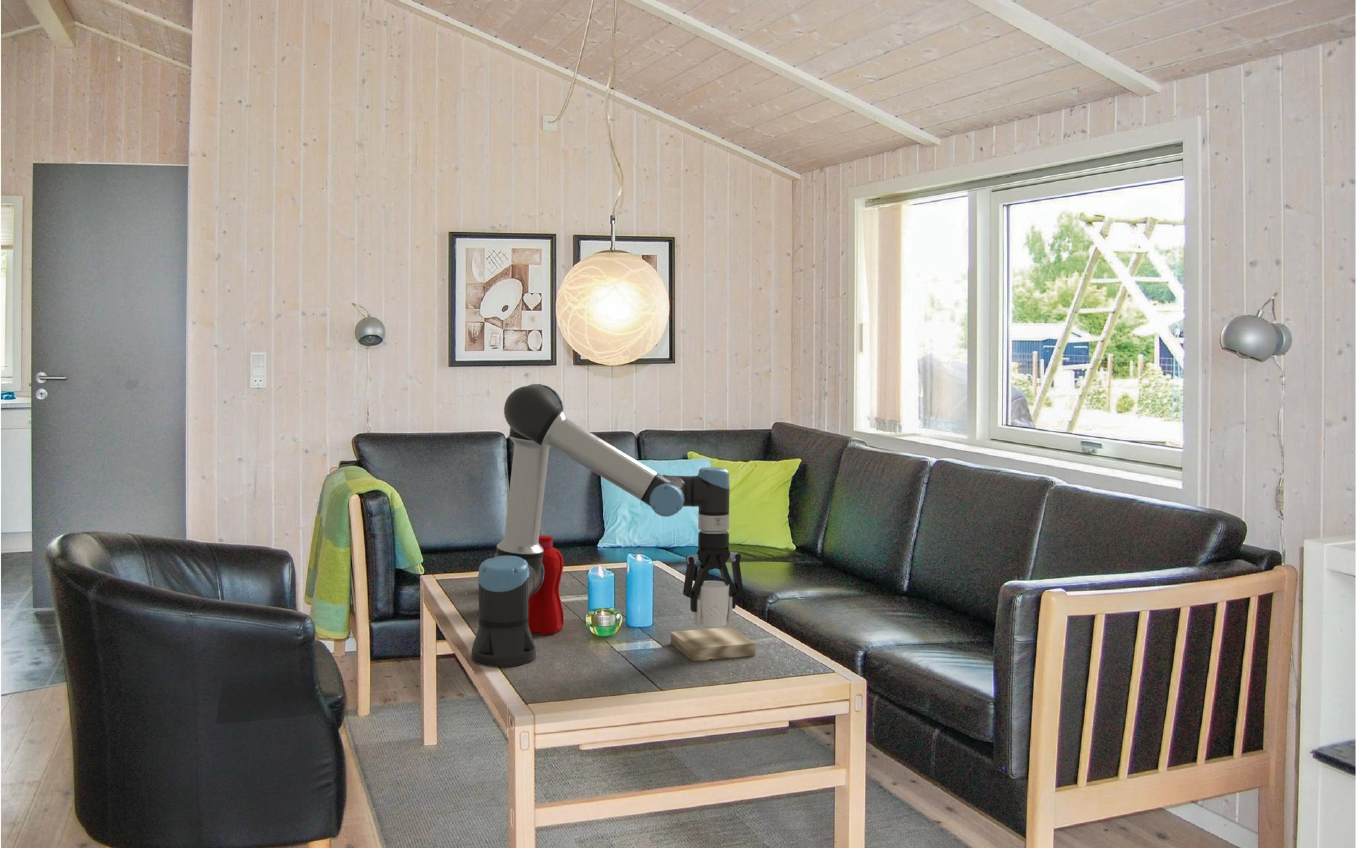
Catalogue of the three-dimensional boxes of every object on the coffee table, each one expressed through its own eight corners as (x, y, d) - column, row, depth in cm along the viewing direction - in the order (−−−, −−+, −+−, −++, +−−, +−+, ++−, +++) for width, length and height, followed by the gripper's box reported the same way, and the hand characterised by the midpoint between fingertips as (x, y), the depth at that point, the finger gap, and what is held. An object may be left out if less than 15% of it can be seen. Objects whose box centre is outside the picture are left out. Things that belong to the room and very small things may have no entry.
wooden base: (693, 661, 263) (693, 648, 263) (670, 643, 278) (670, 631, 278) (755, 655, 268) (755, 643, 268) (730, 638, 283) (730, 626, 283)
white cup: (716, 630, 267) (717, 589, 266) (690, 624, 272) (690, 584, 271) (735, 623, 273) (735, 583, 273) (709, 618, 278) (709, 579, 277)
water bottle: (569, 626, 294) (569, 532, 292) (553, 637, 283) (554, 539, 281) (537, 623, 296) (537, 530, 294) (520, 634, 285) (520, 537, 284)
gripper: (679, 535, 264) (678, 630, 266) (758, 531, 271) (757, 623, 272) (669, 530, 271) (668, 623, 273) (746, 526, 278) (745, 616, 279)
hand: (712, 623), depth 272 cm, fingers closed on white cup, 8 cm apart
